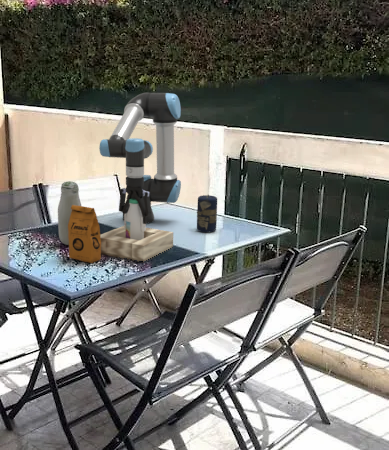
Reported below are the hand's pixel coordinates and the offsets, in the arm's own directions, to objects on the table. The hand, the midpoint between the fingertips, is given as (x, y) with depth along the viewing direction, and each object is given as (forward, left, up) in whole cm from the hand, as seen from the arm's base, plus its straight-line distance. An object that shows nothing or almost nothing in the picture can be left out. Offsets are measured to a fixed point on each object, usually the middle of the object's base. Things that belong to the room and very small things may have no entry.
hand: (134, 229), depth 241 cm
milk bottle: (0, 0, -7) cm, 7 cm away
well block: (0, 0, -9) cm, 9 cm away
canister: (+12, +45, -9) cm, 47 cm away
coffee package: (-10, -21, -9) cm, 25 cm away
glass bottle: (-28, -8, -9) cm, 31 cm away
